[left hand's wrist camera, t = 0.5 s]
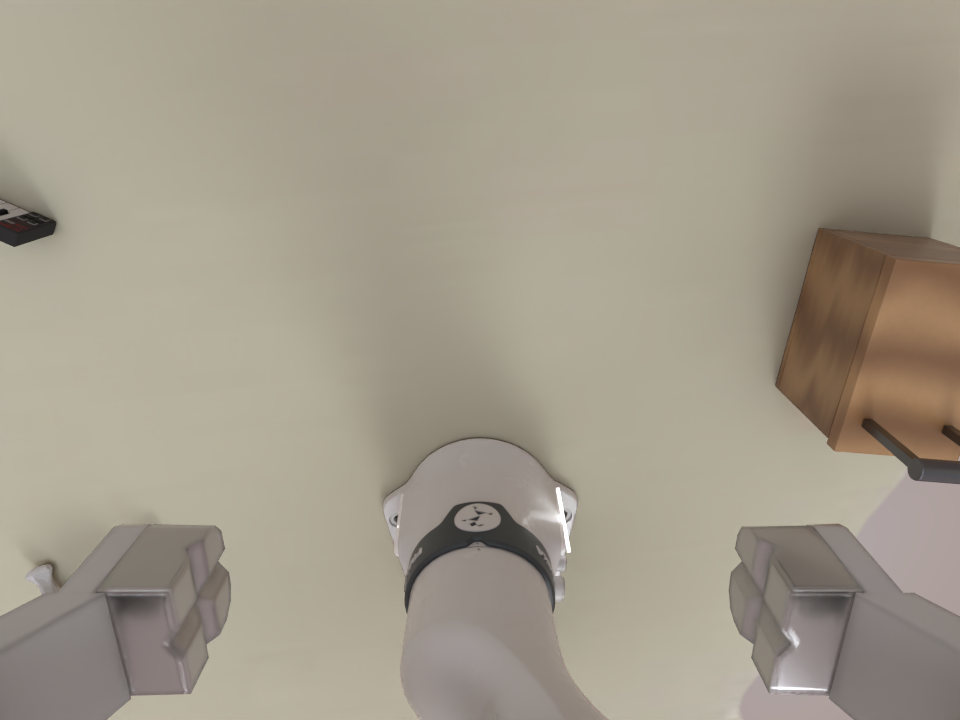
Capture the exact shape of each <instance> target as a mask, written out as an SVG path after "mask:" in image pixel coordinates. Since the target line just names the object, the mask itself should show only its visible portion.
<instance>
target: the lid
mask: <svg viewBox="0 0 960 720" xmlns="http://www.w3.org/2000/svg"><path fill="white" fill-rule="evenodd" d="M827 444H828V445H829V446H830V447H831V448H832V449H833V450H834V451H839V452H852V453H865V454H877V455H890V456H896V457H897V458H898V459H899V460H900V461H901V462H903V463H904V464H905V465H906V466H907V467H908V474H909V476H910V477H911V478H912V479H913V480H915V481H927V482H939V483H952V484H960V461H957V460H958V458H959V456H960V262H959V261H948V260H937V259H926V258H915V257H903V256H892V255H886V258H885V261H884V264H883V267H882V271H881V274H880V277H879V280H878V283H877V286H876V290H875V293H874V296H873V299H872V302H871V305H870V308H869V312H868V315H867V318H866V321H865V324H864V327H863V331H862V334H861V337H860V340H859V343H858V346H857V349H856V353H855V356H854V359H853V362H852V365H851V368H850V372H849V375H848V378H847V381H846V384H845V387H844V390H843V394H842V397H841V400H840V403H839V406H838V409H837V413H836V416H835V419H834V422H833V425H832V428H831V431H830V435H829V438H828V441H827ZM926 458H927V459H926ZM938 459H940V460H938ZM951 460H952V461H951Z"/></svg>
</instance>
